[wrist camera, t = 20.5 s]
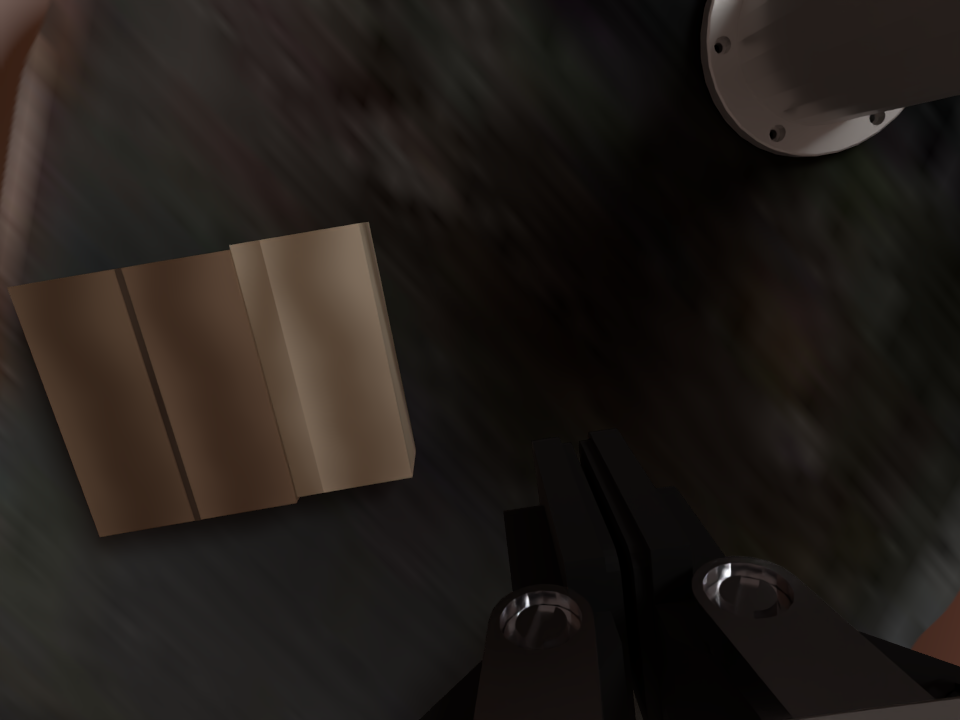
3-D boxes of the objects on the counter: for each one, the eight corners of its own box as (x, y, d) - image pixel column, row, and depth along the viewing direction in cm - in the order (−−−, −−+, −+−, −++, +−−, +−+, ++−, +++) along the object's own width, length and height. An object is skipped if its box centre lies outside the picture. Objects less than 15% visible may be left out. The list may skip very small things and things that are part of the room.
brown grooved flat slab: (275, 241, 33) (252, 246, 29) (331, 468, 36) (317, 500, 32) (59, 278, 33) (6, 287, 29) (137, 502, 36) (99, 537, 32)
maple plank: (369, 222, 33) (358, 223, 29) (416, 449, 36) (412, 477, 33) (255, 241, 33) (229, 245, 29) (313, 466, 36) (297, 497, 32)
